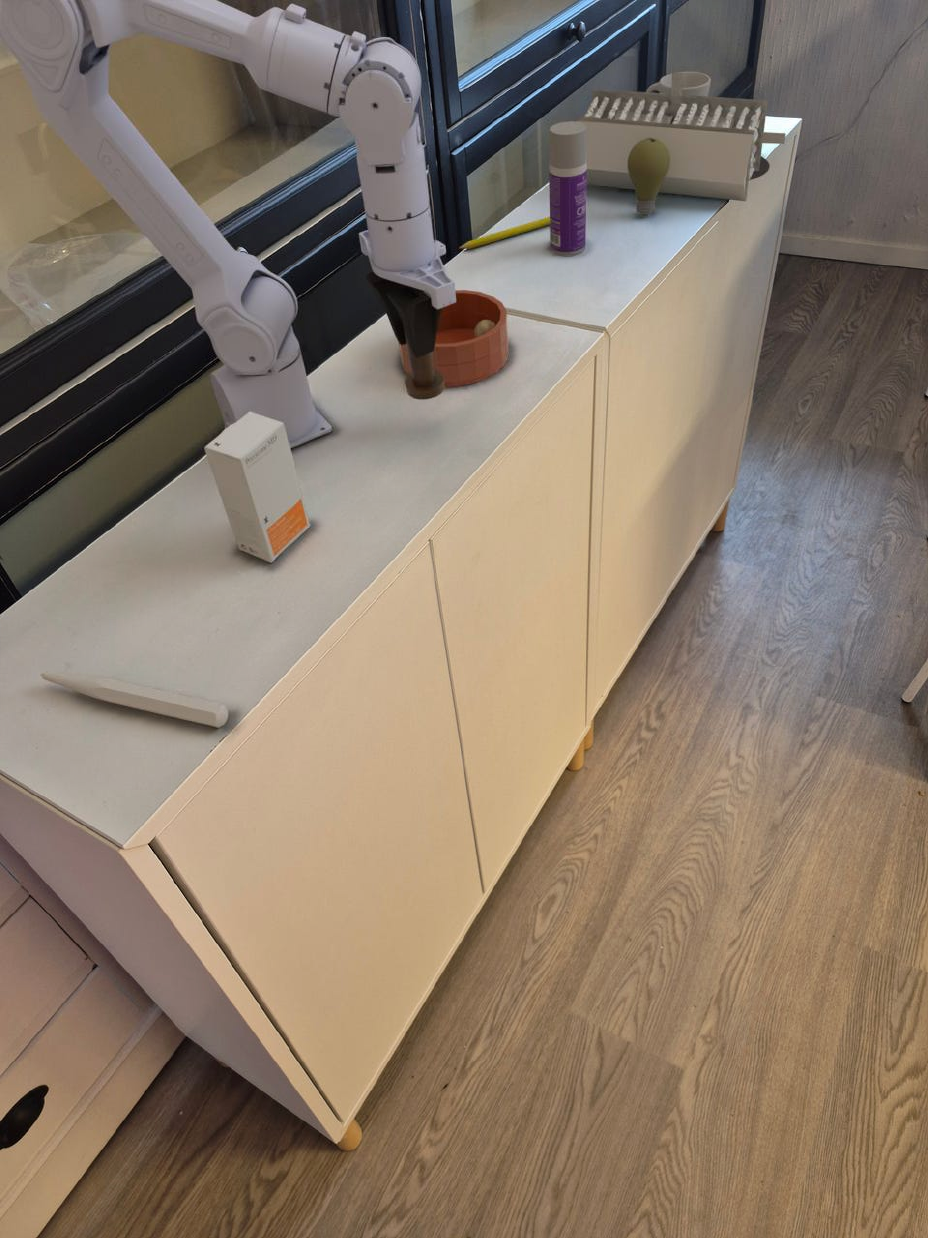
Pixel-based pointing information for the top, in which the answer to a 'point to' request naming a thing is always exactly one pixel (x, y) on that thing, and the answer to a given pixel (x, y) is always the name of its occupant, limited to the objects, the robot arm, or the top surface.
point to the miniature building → (678, 139)
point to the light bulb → (648, 172)
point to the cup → (685, 84)
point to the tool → (144, 698)
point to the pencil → (506, 233)
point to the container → (567, 188)
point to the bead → (483, 327)
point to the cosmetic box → (258, 485)
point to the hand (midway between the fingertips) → (416, 346)
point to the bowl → (468, 340)
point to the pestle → (423, 376)
